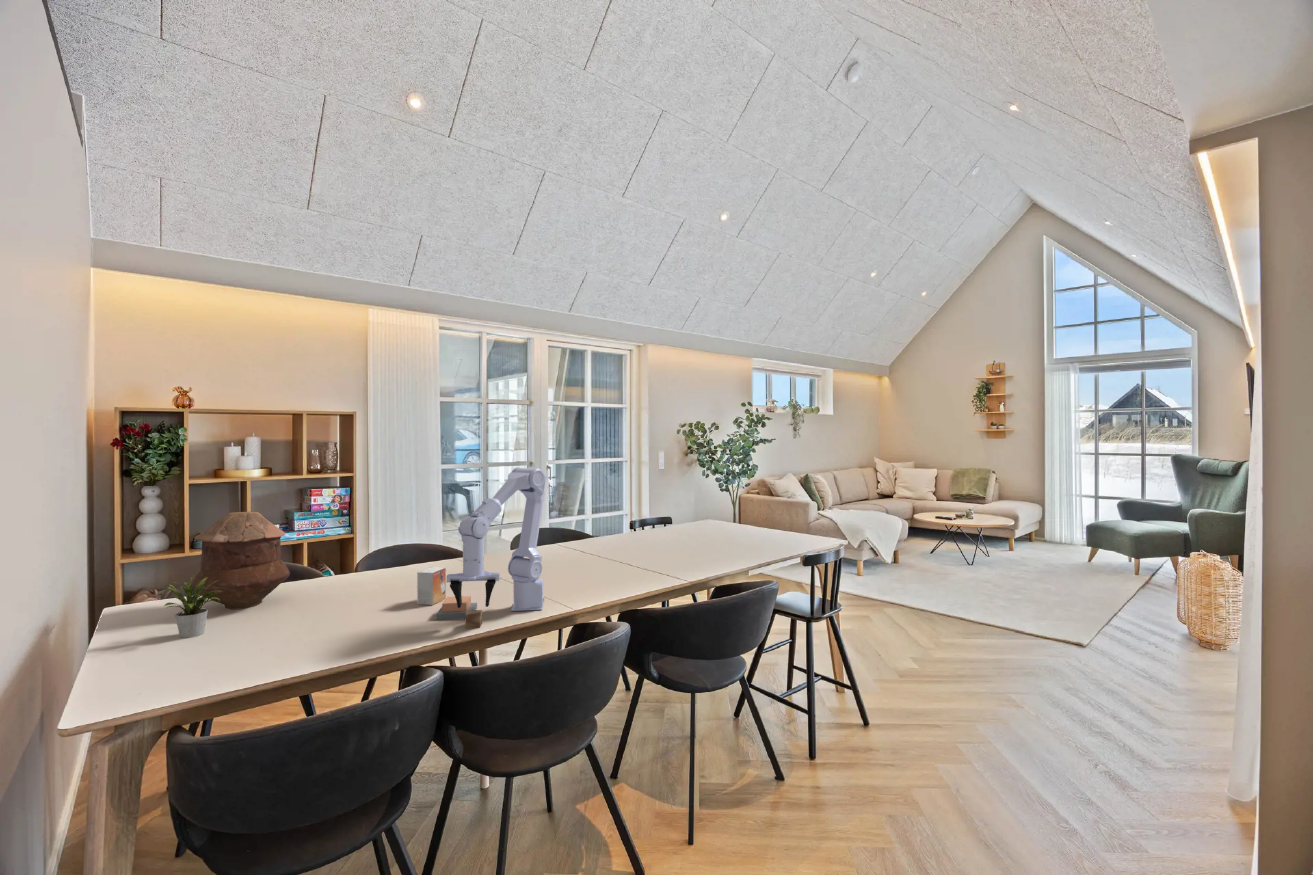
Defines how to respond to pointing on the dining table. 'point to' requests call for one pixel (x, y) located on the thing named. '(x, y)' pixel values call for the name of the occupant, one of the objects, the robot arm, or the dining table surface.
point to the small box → (431, 585)
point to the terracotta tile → (451, 604)
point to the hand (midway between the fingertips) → (473, 606)
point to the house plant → (192, 609)
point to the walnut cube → (473, 619)
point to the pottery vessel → (241, 559)
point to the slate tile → (454, 613)
